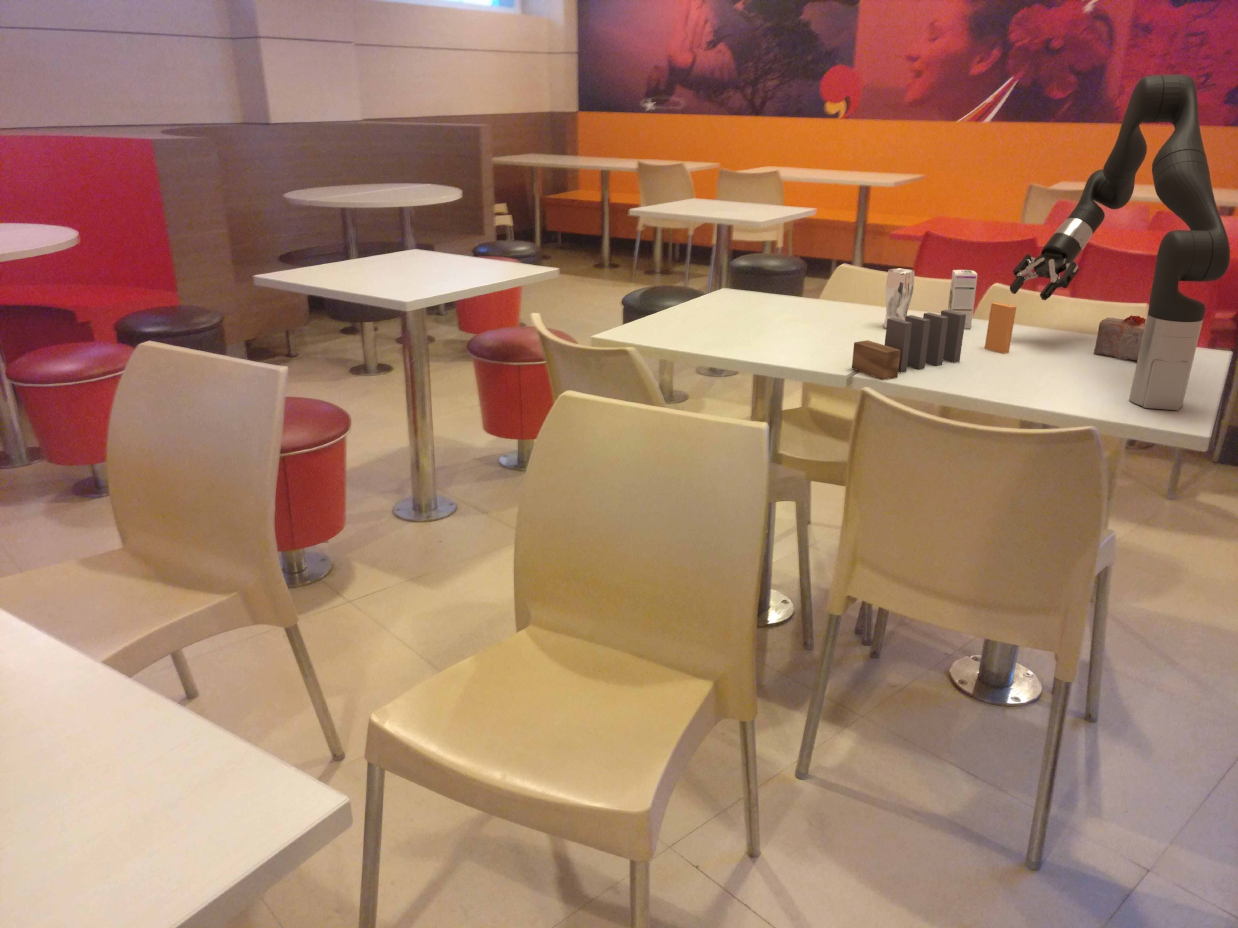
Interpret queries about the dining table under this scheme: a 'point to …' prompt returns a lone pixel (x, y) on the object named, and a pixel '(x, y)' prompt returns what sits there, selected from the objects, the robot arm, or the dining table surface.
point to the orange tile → (1000, 327)
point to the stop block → (876, 359)
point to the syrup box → (963, 294)
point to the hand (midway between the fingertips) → (1027, 294)
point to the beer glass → (898, 293)
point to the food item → (1120, 337)
